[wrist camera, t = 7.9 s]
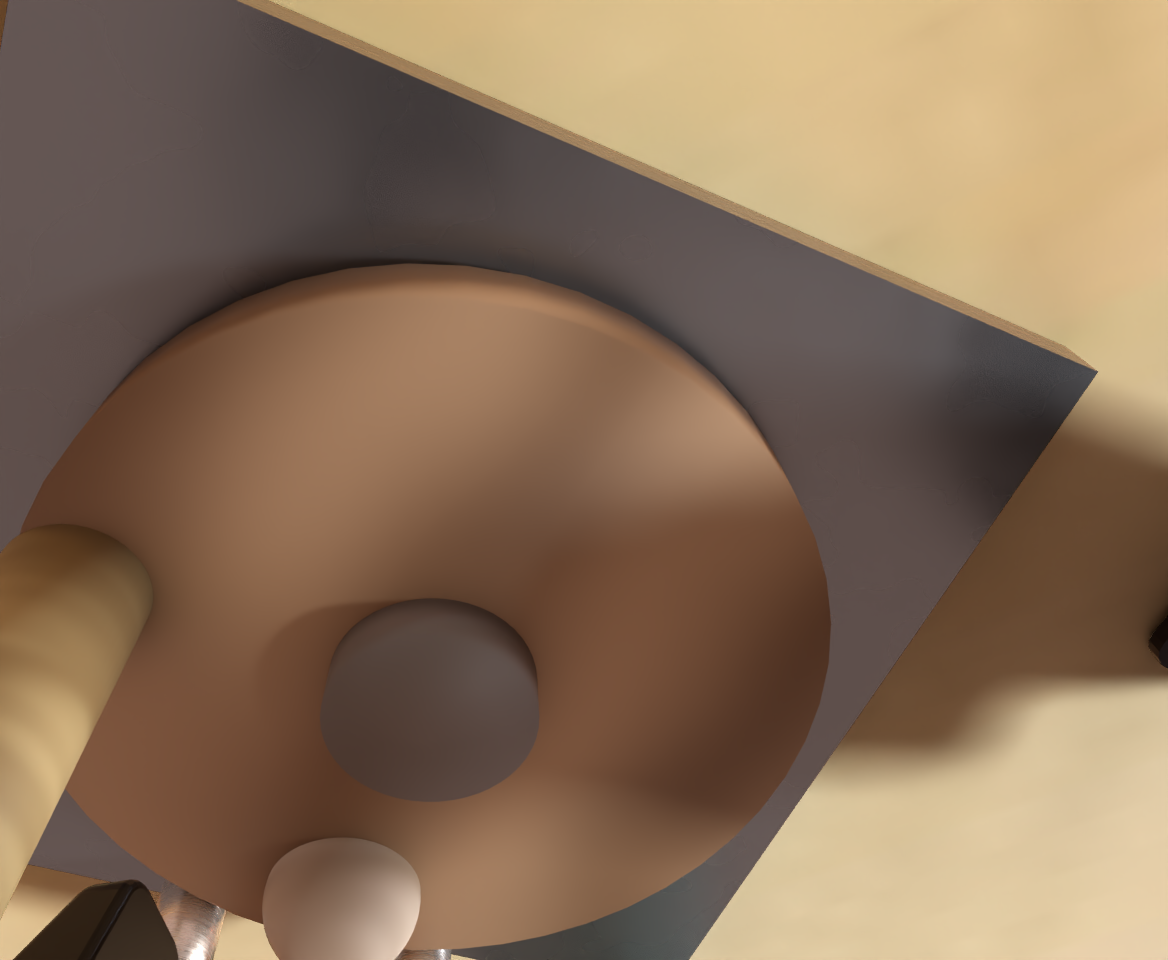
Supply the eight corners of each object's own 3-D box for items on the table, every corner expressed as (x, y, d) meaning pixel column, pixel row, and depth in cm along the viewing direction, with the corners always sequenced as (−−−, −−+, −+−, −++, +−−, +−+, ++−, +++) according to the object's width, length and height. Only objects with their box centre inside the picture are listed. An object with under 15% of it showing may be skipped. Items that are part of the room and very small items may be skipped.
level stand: (1065, 346, 19) (1231, 473, 15) (655, 956, 27) (686, 1159, 22) (56, -93, 15) (-127, -94, 10) (-99, 787, 22) (-245, 1001, 18)
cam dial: (947, 429, 18) (1205, 726, 12) (629, 939, 24) (680, 1329, 18) (113, 117, 15) (-196, 285, 8) (-21, 800, 21) (-266, 1221, 14)
